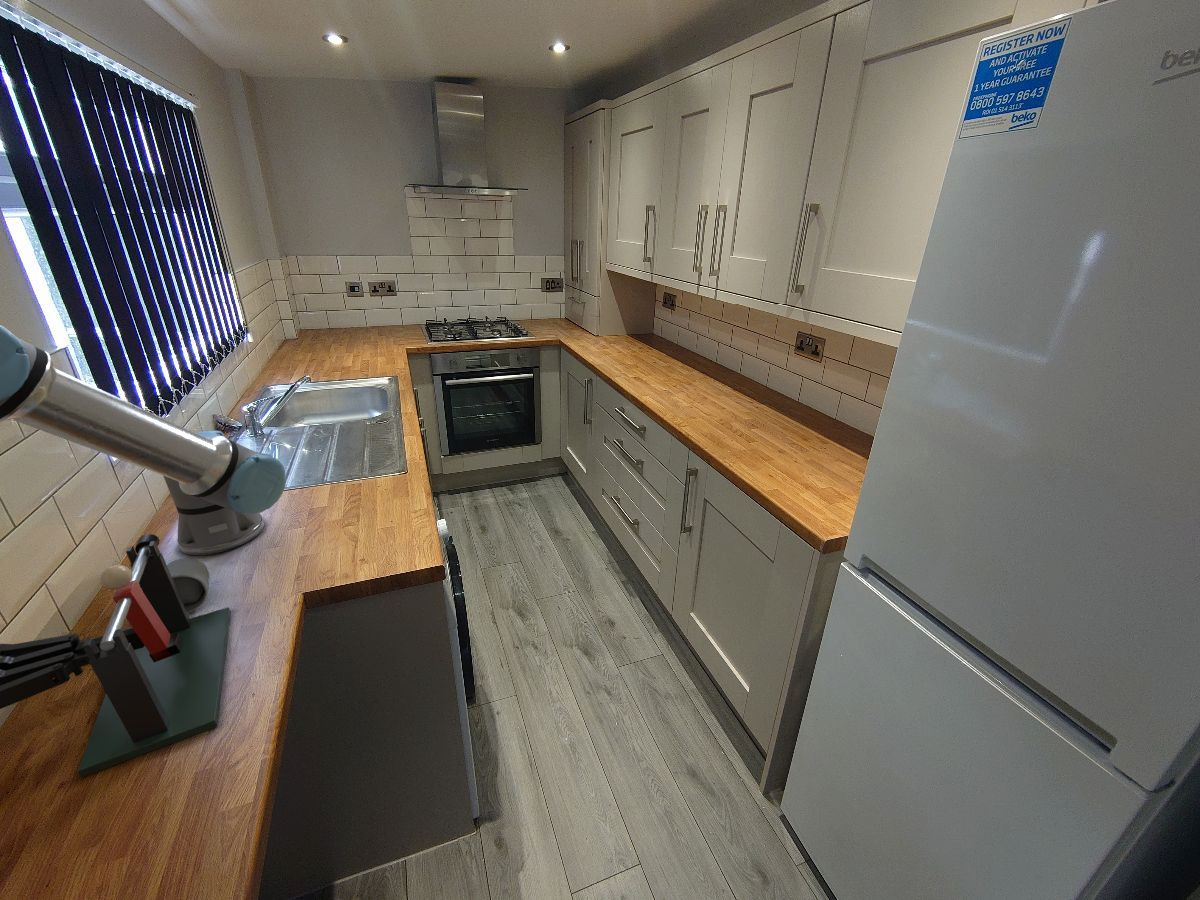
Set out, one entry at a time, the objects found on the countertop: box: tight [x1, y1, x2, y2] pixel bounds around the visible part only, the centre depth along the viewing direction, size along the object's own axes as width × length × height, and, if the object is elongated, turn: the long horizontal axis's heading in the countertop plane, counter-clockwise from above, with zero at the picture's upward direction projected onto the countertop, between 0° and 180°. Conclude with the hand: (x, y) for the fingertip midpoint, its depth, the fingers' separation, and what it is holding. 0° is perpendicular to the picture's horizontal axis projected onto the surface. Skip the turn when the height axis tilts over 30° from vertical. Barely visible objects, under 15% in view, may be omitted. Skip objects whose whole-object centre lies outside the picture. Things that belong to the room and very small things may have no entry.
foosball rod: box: [99, 533, 183, 662], centre depth 74 cm, size 26×4×16 cm, turn 30°
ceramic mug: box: [166, 557, 210, 614], centre depth 92 cm, size 11×8×8 cm
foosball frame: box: [77, 541, 231, 778], centre depth 74 cm, size 26×14×17 cm, turn 30°
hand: (141, 636), depth 74 cm, fingers closed
